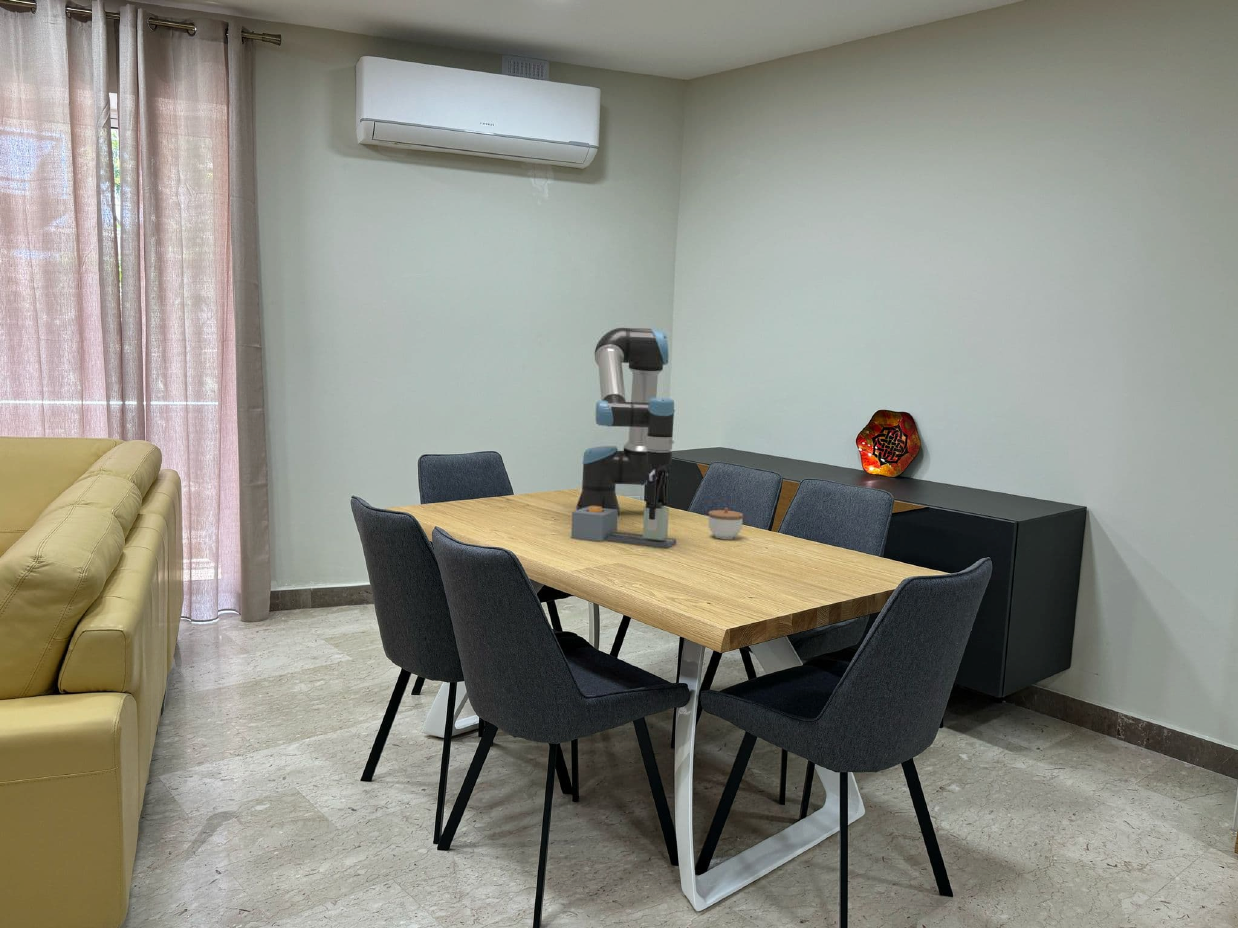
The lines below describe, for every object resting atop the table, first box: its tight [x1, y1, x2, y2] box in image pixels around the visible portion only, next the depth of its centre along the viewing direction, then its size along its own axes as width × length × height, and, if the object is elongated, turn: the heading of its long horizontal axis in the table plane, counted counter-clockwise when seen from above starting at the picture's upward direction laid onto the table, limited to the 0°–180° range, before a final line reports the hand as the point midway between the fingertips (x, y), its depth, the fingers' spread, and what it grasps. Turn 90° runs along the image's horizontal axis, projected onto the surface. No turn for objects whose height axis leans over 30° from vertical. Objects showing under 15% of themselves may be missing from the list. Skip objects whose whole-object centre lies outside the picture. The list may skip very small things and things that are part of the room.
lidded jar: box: [708, 507, 744, 540], centre depth 294 cm, size 11×11×9 cm
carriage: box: [642, 502, 670, 540], centre depth 279 cm, size 6×5×10 cm
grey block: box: [570, 506, 619, 543], centre depth 286 cm, size 10×12×8 cm
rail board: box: [607, 531, 677, 550], centre depth 281 cm, size 19×8×2 cm, turn 68°
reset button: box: [589, 506, 602, 513], centre depth 286 cm, size 4×4×6 cm
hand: (655, 528), depth 279 cm, fingers closed on carriage, 5 cm apart
